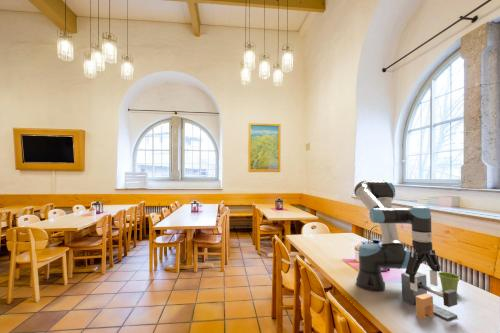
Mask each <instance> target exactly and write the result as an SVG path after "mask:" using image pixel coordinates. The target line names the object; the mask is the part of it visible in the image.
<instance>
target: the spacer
mask: <svg viewBox="0 0 500 333" xmlns="http://www.w3.org/2000/svg"><path fill="white" fill-rule="evenodd" d="M433 298H434V296H432V295H431V294H428V293H427V294H422V295H418V296H416V305H415V312H416V313H415V315H416V317H417V318H418V319H421V320H422V321H424V320H426V316H428V317H430V318H433V317H435V316H434V314H433V304H434V299H433Z"/></svg>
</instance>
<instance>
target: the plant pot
mask: <svg viewBox="0 0 500 333" xmlns="http://www.w3.org/2000/svg"><path fill="white" fill-rule="evenodd" d="M437 276H439V278H440V283H441V290H442V291H447V290H450V289H453V290H455V291H457V292H458V285H459V281H460V279H461V277H460V276H459V275H458V274H454V273H451V272H446V271H440V272H437Z"/></svg>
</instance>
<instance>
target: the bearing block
mask: <svg viewBox="0 0 500 333" xmlns="http://www.w3.org/2000/svg"><path fill="white" fill-rule="evenodd" d="M400 274H401V276H400V278H401V300H402V302H403V301H404V302H405V303H407V304H409V305H411V306H414V307H416V296H418V295H422V294H428V291H426V290H424V289H422V288H419V287H418V283H420V284H423V285H425V286H428V284H427V274H425V273H421V272H420V271H417V273H416V275H415V276H417V291H414V290H412V289H410V278H409V274H406V273H405V272H402V273H400ZM433 315H435V316H436V317H439V318H441V319H443V320H445V321H446V322H449V321H451V320H454V319H456V318H458V314H456V313H453V312H451V311H449V310H447V309H444V308H443V307H440V306H438V305H436V304H435V303H433Z"/></svg>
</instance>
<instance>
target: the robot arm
mask: <svg viewBox="0 0 500 333" xmlns="http://www.w3.org/2000/svg"><path fill="white" fill-rule="evenodd" d="M353 193H354V196H355V197H356V199H357V200H359V201H361V202H362V203H363V205H364V206H365V207H366V208H367V210H368V211H369V214H368V215H369V219H370V221H371V222H372V223H373V224H379V226H380V232H381V237H382V242H381V243H380V244H378V243H374V242H373V243H372V242H371V243H363V244H361V245H359V247H358V273H357V277H356V281H355V282H356V285H357V286H358V287H360V288H362V289H364V290H367V291H371V292H382V291H384V290H385V289H386V283H385V281H384V278H383V275H382V269H395V270H396V269H398V270H400V269H401V270H403V269H405V272H404V273H406V274H409V278H410V289H412V290H414V291H417V276H415V275H416V273H417V272H419V271H418V270H419V269H420V266H421V264H423V263H425V262H426V264H427V265H428V267H429V268H430V269H429V280H430V283H429V284H430V285H432V286H434V287H438V284H439V283H438V273H439V272H441V266H440V263H439V261H438V258H437V254H436V250H435V249H433V242H432V241H433V236H432V212H431V208H430V207H428V206H420V205H417V206H414V205H413V206H411V207H402V208H401V207H400V208H394V207H393V206H392V202H393V201H394V198H395V197H396V188H395V185H394V183H392V182H391V181H390V180H384V179H382V180H362V181H360V182H359V183H357V184H356V185H355V187H354V190H353ZM397 224H402V225H403V224H406V225H407V224H408V225H411V239H412V241H411V243H412V246H411V247H412V248H413V249H414V252H413V251H410V250H409V248H408V247H404V243H403V242H402V241H400V237H399V232H398V229H397V228H398V227H397Z"/></svg>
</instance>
